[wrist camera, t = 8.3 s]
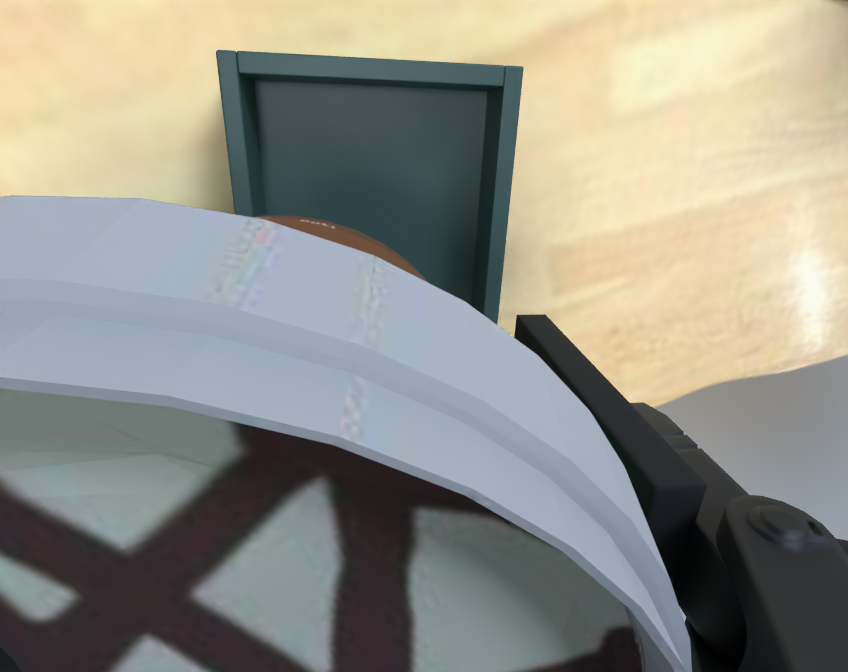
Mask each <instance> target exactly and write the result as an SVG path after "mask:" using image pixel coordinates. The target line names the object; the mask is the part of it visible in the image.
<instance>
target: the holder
mask: <svg viewBox="0 0 848 672" xmlns="http://www.w3.org/2000/svg"><path fill="white" fill-rule="evenodd" d="M216 57H217V65H218V74H219V82H220V91H221V99H222V108H223V116H224V125H225V134H226V142H227V151H228V159H229V168H230V176H231V185H232V193H233V202H234V210H235V215H241V216H247V217H256V216H263V215H267V216H300V217H306V218H312V219H319V220H325V221H329V222H332V223H335V224H338V225H342V226H345V227H348V228H351V229H354V230H357V231H359V232H361V233H363V234H365V235H367V236H369V237H371V238H373V239H375V240H377V241H379V242H381V243H383V244H385V245H386V246H387V247H389V248H390V249H392V250H393V251H394V252H396V253H397V254H399V255H400V256H401V257H403V258H404V259H406V260H407V261H408V262H409V263H410V264H411V265H412V266H413V267H414V268H415V269H416V270H417V271H418V272H419V273H420V274H421V275H422V276H423V277H424V278H425V279H426V280H427V282H428V283H430V284H431V285H433V286H435V287H437V288H439V289H441V290H443V291H445V292H447V293H449V294H451V295H453V296H455V297H457V298H459V299H461V300H463V301H465V302H466V303H468V304H469V305H471V306H472V307H473V308H475V309H476V310H477V311H479V312H480V313H481V314H483V315H484V316H485V317H487V318H488V319H490V320H491V321H492V322H494V323H495V324H496V325H497V322H498V312H499V303H500V293H501V283H502V273H503V263H504V253H505V244H506V234H507V224H508V214H509V204H510V195H511V185H512V175H513V165H514V155H515V146H516V136H517V126H518V116H519V106H520V96H521V87H522V77H523V67H522V66H503V65H485V64H467V63H449V62H430V61H412V60H394V59H376V58H358V57H339V56H321V55H303V54H285V53H267V52H249V51H237V52H236V51H229V50H217V51H216Z"/></svg>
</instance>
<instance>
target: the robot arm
mask: <svg viewBox="0 0 848 672" xmlns="http://www.w3.org/2000/svg"><path fill="white" fill-rule="evenodd" d="M514 338H515V339H517V340H518V341H519V342H521V343H522V344H523V345H525V346H526V347H527V348H529V349H530V350H532V351H533V352H534V353H536V354H537V355H538V356H539V357H540V358H541V359H542V360H543V361H544V362H545V363H546V365H547V366H548V367H549V368H550V369H551V370H552V371H553V372H554V373H555V374H556V375H557V376H558V377H559V378H560V379H561V381H562V382H563V383H564V384H565V385H566V386H567V387H568V388H569V389H570V390H571V391H572V392H573V393H574V394H575V395H576V397H577V398H578V399H579V400H580V401H581V402H582V403H583V404H584V405H585V406H586V407H587V408H588V409H589V410H590V412H591V413H592V415H593V417H594V418H595V420H596V421H597V423H598V425H599V426H600V428H601V430H602V431H603V433H604V434H605V436H606V438H607V439H608V441H609V443H610V444H611V446H612V447H613V449H614V451H615V452H616V454H617V455H618V457H619V459H620V460H621V462H622V464H623V465H624V467H625V469H626V471H627V474H628V476H629V479H630V481H631V484H632V486H633V489H634V491H635V494H636V496H637V499H638V501H639V504H640V506H641V509H642V511H643V514H644V516H645V519H646V521H647V524H648V526H649V529H650V531H651V534H652V536H653V538H654V541H655V543H656V546H657V548H658V551H659V553H660V556H661V558H662V561H663V563H664V566H665V568H666V571H667V573H668V576H669V578H670V581H671V584H672V587H673V590H674V593H675V596H676V599H677V602H678V605H679V606H680V608H681V609H682V611H683V612H684V614H685V615H686V620H685V626H686V629H687V632H688V635H689V638H690V647H691V663H692V672H848V541H846V540H841V539H836V538H835V537H834V536H833V535H832V534H831V533H830V532H829V531H828V530H827V529H826V528H825V526H824V525H823V524H821V523H820V522H818V521H817V520H815V519H814V518H813V517H811V516H810V515H808V514H807V513H805V512H804V511H802V510H800V509H797V508H795V507H793V506H791V505H789V504H787V503H785V502H782V501H778V500H775V499H771V498H768V497H764V496H754V495H749V494H748V493H747V492H746V491H745V490H744V489H743V488H742V487H741V486H739V485H738V484H737V483H736V482H735V481H734V480H733V479H732V478H731V477H730V476H729V475H728V474H727V473H726V472H725V471H724V470H723V469H722V468H721V467H720V466H719V465H718V464H717V463H716V462H714V461H713V460H712V459H711V458H710V457H709V456H708V455H707V454H706V453H705V452H704V451H703V450H702V449H698V448H697V444H696V443H695V442H694V441H693V440H691V439H690V438H689V437H688V436H687V435H684V434H683V431H682V430H681V429H680V428H679V427H678V426H677V425H676V424H675V423H674V422H673V421H672V420H671V419H670V418H668V416H666V415H665V414H663V413H661V412H659V411H657V410H656V409H654V408H652V407H650V406H649V405H647V404H645V403H629V402H628V401H627V400H626V399H625V398H624V397H623V396H622V395H621V394H620V392H619V391H618V390H617V389H616V388H615V387H614V386H613V385H612V384H611V383H610V382H609V381H608V380H607V379H606V378H605V377H604V376H603V375H602V374H601V373H600V372H599V370H598V369H597V368H596V367H595V366H594V365H593V364H592V363H591V362H590V361H589V360H588V359H587V358H586V357H585V356H584V355H583V354H582V353H581V352H580V351H579V350H578V348H577V347H576V346H575V345H574V344H573V343H572V342H571V341H570V340H569V339H568V338H567V337H566V336H565V335H564V334H563V333H562V332H561V331H560V330H559V329H558V328H557V327H556V325H555V324H554V323H553V322H552V321H551V320H550V319H549V318H548V317H547V316H546V315H517V319H516V328H515V336H514ZM0 672H22V671H21V670H20V668H19V667H18V666H17V664H16V663H15V662H14V661H13V659H12V658H11V657H10V656H9V655H8V654H7V653H6V652H5V651H4V650H3V649H2V648H0Z"/></svg>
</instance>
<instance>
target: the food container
mask: <svg viewBox="0 0 848 672" xmlns="http://www.w3.org/2000/svg"><path fill="white" fill-rule="evenodd" d="M0 648H2V649H3V650H4V651H5V652H6V653H7V654H8V655H9V656H10V657H11V658H12V659H13V661H14V662H15V663H16V664H17V666H18V667H19V668H20V670H21V671H22V672H692V663H691V647H690V638H689V635H688V632H687V629H686V626H685V623H684V620H683V617H682V614H681V611H680V608H679V605H678V602H677V599H676V596H675V593H674V590H673V587H672V584H671V581H670V578H669V576H668V573H667V571H666V568H665V566H664V563H663V561H662V558H661V556H660V553H659V551H658V548H657V546H656V543H655V541H654V538H653V536H652V534H651V531H650V529H649V526H648V524H647V521H646V519H645V516H644V514H643V511H642V509H641V506H640V504H639V501H638V499H637V496H636V494H635V491H634V489H633V486H632V484H631V481H630V479H629V476H628V474H627V471H626V469H625V467H624V465H623V464H622V462H621V460H620V459H619V457H618V455H617V454H616V452H615V451H614V449H613V447H612V446H611V444H610V443H609V441H608V439H607V438H606V436H605V434H604V433H603V431H602V430H601V428H600V426H599V425H598V423H597V421H596V420H595V418H594V417H593V415H592V413H591V412H590V410H589V409H588V408H587V407H586V406H585V405H584V404H583V403H582V402H581V401H580V400H579V399H578V398H577V397H576V395H575V394H574V393H573V392H572V391H571V390H570V389H569V388H568V387H567V386H566V385H565V384H564V383H563V382H562V381H561V379H560V378H559V377H558V376H557V375H556V374H555V373H554V372H553V371H552V370H551V369H550V368H549V367H548V366H547V365H546V363H545V362H544V361H543V360H542V359H541V358H540V357H539V356H538V355H537V354H536V353H534V352H533V351H532V350H530V349H529V348H527V347H526V346H525V345H523V344H522V343H521V342H519V341H518V340H517V339H515V338H514V337H513V336H511V335H510V334H508V333H507V332H506V331H504V330H503V329H502V328H500V327H499V326H498V325H496V324H495V323H494V322H492V321H491V320H490V319H488V318H487V317H485V316H484V315H483V314H481V313H480V312H479V311H477V310H476V309H475V308H473V307H472V306H471V305H469V304H468V303H466V302H465V301H463V300H461V299H459V298H457V297H455V296H453V295H451V294H449V293H447V292H445V291H443V290H441V289H439V288H437V287H435V286H433V285H431V284H430V283H428V282H427V280H426V279H425V278H424V277H423V276H422V275H421V274H420V273H419V272H418V271H417V270H416V269H415V268H414V267H413V266H412V265H411V264H410V263H409V262H408V261H407V260H406V259H404V258H403V257H401V256H400V255H399V254H397V253H396V252H394V251H393V250H392V249H390V248H389V247H387V246H386V245H385V244H383V243H381V242H379V241H377V240H375V239H373V238H371V237H369V236H367V235H365V234H363V233H361V232H359V231H357V230H354V229H351V228H348V227H345V226H342V225H338V224H335V223H332V222H329V221H325V220H319V219H312V218H306V217H300V216H267V215H263V216H256V217H247V216H241V215H235V214H229V213H224V212H218V211H212V210H206V209H200V208H194V207H189V206H183V205H177V204H171V203H165V202H159V201H154V200H148V199H142V198H99V197H56V196H13V195H11V196H4V197H0Z"/></svg>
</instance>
